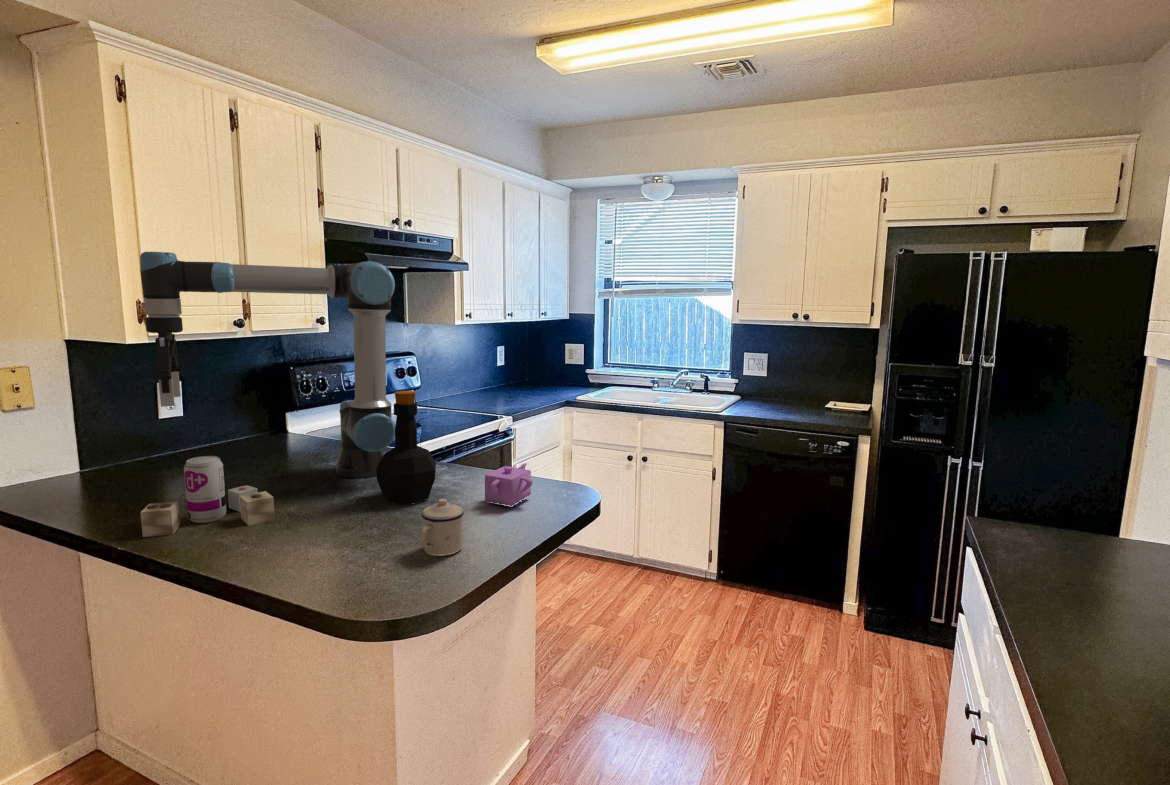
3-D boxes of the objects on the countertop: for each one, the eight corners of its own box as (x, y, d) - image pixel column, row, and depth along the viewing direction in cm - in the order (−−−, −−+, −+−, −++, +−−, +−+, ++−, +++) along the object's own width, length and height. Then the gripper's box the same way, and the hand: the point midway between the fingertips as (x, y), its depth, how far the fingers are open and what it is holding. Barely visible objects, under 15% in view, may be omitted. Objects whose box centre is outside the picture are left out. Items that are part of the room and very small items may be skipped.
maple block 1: (180, 525, 151) (178, 500, 150) (173, 534, 145) (170, 509, 144) (151, 527, 149) (149, 502, 148) (142, 537, 143) (140, 511, 142)
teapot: (507, 489, 184) (507, 456, 182) (548, 496, 178) (549, 462, 176) (471, 507, 168) (471, 471, 166) (515, 516, 162) (516, 479, 160)
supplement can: (209, 525, 151) (204, 465, 148) (179, 522, 152) (174, 462, 150) (234, 514, 159) (230, 456, 156) (206, 510, 160) (201, 454, 158)
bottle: (445, 502, 171) (444, 394, 167) (384, 511, 163) (381, 398, 158) (427, 485, 185) (426, 385, 180) (370, 493, 177) (367, 389, 172)
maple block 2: (266, 513, 160) (265, 490, 159) (274, 520, 155) (273, 496, 154) (241, 519, 156) (239, 495, 155) (248, 526, 151) (246, 501, 150)
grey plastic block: (247, 503, 167) (246, 484, 166) (258, 506, 164) (257, 487, 164) (229, 508, 163) (227, 489, 162) (240, 512, 160) (238, 492, 159)
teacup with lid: (440, 538, 147) (439, 490, 145) (471, 546, 143) (471, 497, 141) (404, 557, 136) (403, 506, 134) (437, 566, 132) (436, 513, 130)
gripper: (152, 313, 162) (160, 394, 166) (136, 319, 140) (145, 411, 144) (186, 313, 166) (193, 392, 169) (175, 318, 144) (183, 409, 147)
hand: (171, 401), depth 157 cm, fingers open, 13 cm apart
